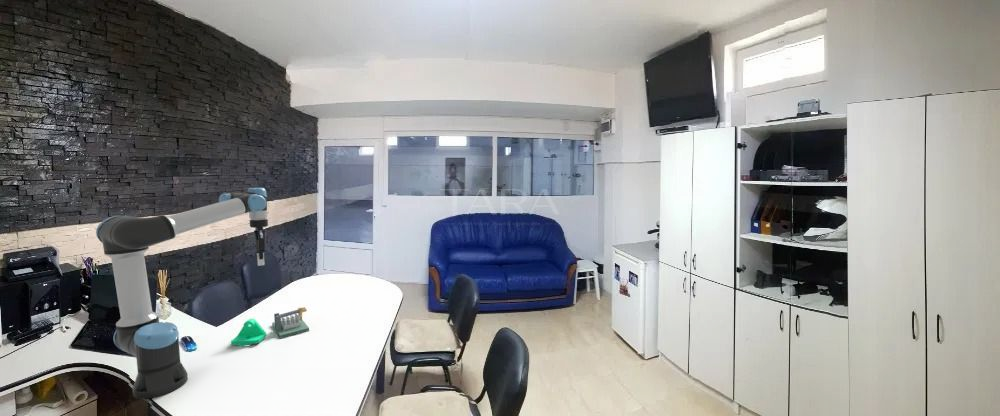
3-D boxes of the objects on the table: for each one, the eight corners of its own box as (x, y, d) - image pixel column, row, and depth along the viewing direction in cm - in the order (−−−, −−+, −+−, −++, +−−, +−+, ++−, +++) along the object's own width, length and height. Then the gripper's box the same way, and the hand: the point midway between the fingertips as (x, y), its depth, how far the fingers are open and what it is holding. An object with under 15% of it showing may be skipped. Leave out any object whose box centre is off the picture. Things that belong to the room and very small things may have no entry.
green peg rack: (309, 330, 183) (308, 314, 182) (280, 338, 174) (279, 321, 173) (299, 318, 196) (298, 303, 196) (272, 325, 188) (271, 309, 187)
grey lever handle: (306, 311, 188) (306, 308, 188) (276, 320, 179) (276, 317, 179) (304, 309, 191) (304, 306, 191) (275, 317, 182) (274, 314, 181)
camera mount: (230, 347, 165) (228, 326, 164) (239, 339, 172) (238, 319, 171) (258, 345, 167) (257, 324, 166) (266, 337, 174) (265, 317, 173)
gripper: (270, 219, 174) (272, 266, 176) (265, 216, 183) (267, 261, 186) (251, 221, 169) (254, 269, 171) (247, 218, 178) (250, 263, 181)
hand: (261, 265), depth 178 cm, fingers closed
